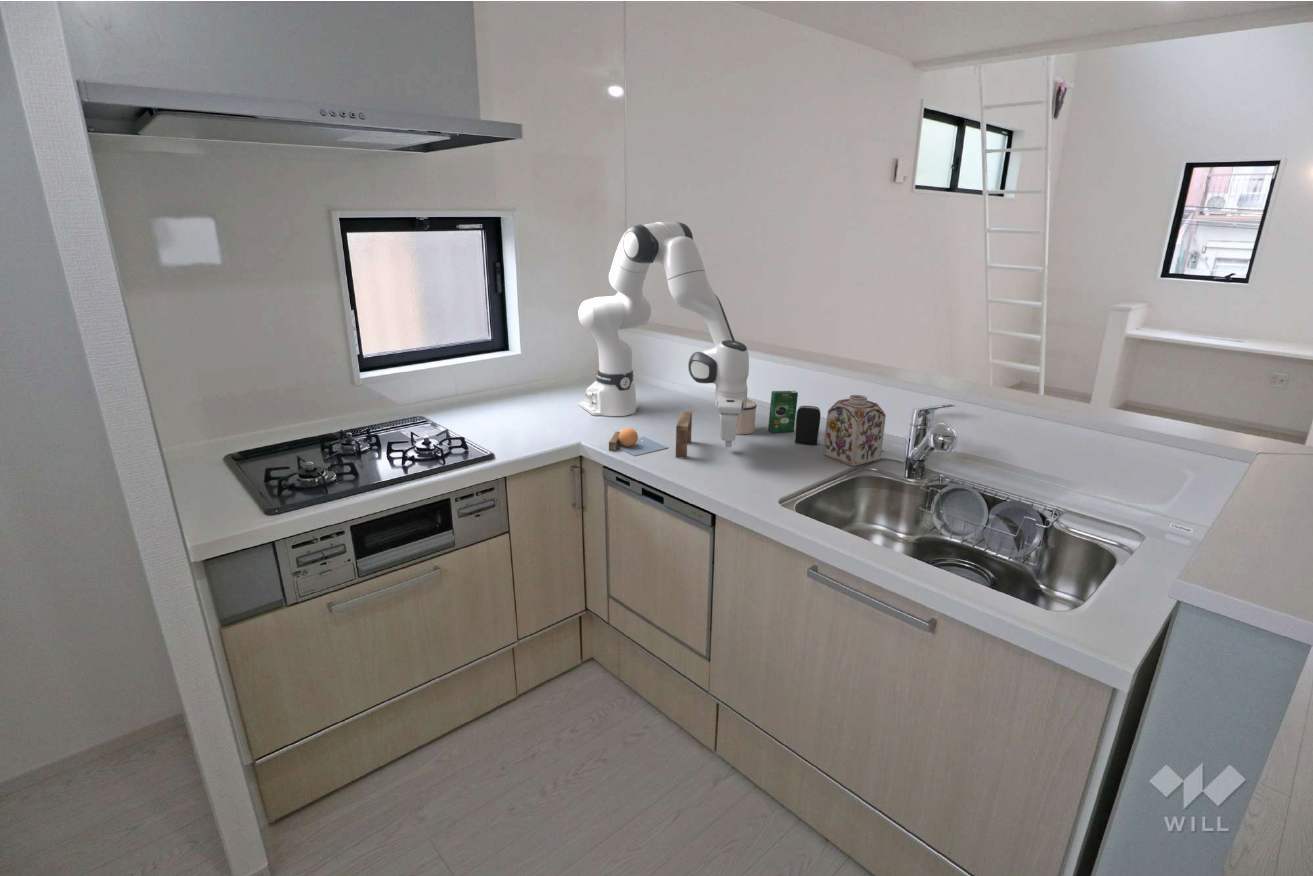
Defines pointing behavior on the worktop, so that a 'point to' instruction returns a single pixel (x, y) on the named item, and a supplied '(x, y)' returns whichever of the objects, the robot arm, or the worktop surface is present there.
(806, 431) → the battery charger
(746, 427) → the teacup with lid
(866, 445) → the decorative jar
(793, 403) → the coffee box
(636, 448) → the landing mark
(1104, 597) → the worktop surface
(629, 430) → the ball
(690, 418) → the bridge
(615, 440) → the stopper
